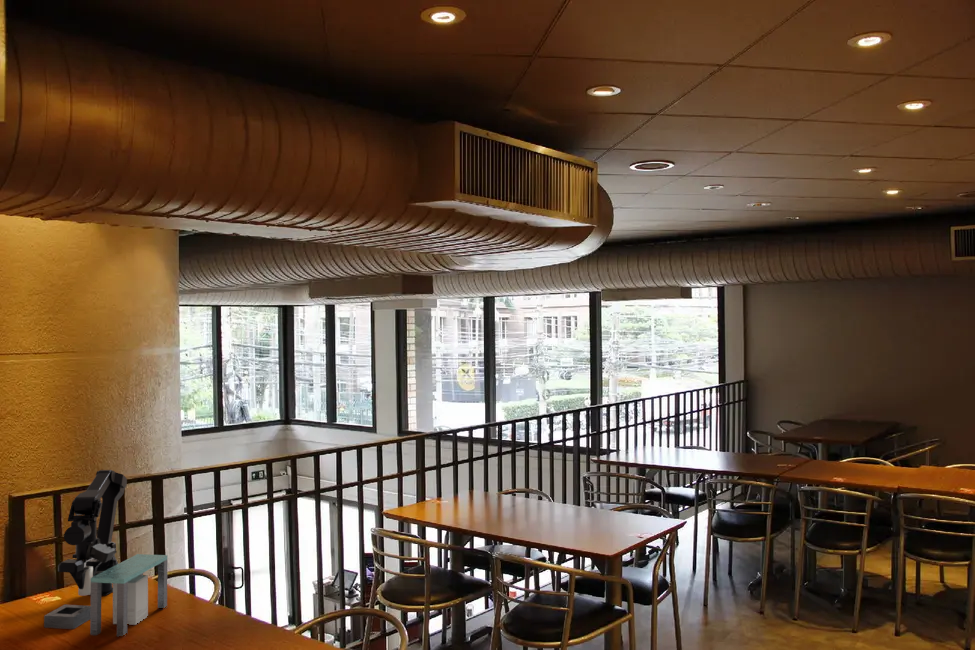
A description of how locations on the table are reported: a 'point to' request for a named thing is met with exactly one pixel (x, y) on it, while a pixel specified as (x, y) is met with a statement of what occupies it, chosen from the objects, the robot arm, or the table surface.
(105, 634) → the table surface
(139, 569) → the miniature teal stool
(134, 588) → the supplement box
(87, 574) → the peg
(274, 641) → the table surface
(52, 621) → the socket
